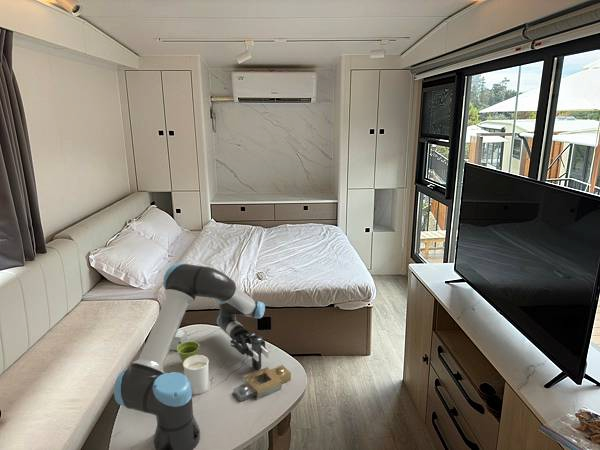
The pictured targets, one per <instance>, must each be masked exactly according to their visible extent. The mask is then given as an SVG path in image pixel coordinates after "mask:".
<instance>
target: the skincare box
mask: <svg viewBox="0 0 600 450" xmlns="http://www.w3.org/2000/svg"><path fill="white" fill-rule="evenodd" d="M184 342H189V340H188V331H187V330H183V329H182V330H181V329H178V330H177V333H176V335H175V338H174V340H173V343H172V345H171V347H170V350H171V351H177V347H178V346H179V345H180V344H182V343H184Z"/></svg>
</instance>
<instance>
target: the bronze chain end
mask: <svg viewBox="0 0 600 450" xmlns="http://www.w3.org/2000/svg"><path fill="white" fill-rule="evenodd" d="M263 377H266V378H267V379H268V380H269V381H267V382H266V381H265V382H263V383H261V384H260V383H258V382H257V381H256V380H258V379H260V378H263ZM291 377H292V373H291V371H290V370H289V369H288V368H286V366H284V365H283V364H281V365H278V366H277V367H276V366H275V367H274V368H271V369H270V368H269V367H267V366H266V367H264V368H260V369H258V370H255V371H254V372H251V373H250V374H246V375H244V376H243V378H244V380H243V382H244V381H245V382H246V383H247V384H248V385H249V386H250V387H251V388H252V389H253V391H254V392H255V393H256V394H257V395H259V394H261V393H263V392H266V391H268V390H270V389H273V388H275V387H277V386H279V385H282V384H285V383H288V382H290V381H291V379H292V378H291Z"/></svg>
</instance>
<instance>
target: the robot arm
mask: <svg viewBox="0 0 600 450" xmlns="http://www.w3.org/2000/svg"><path fill="white" fill-rule="evenodd" d="M163 288H164V295H165V300H164V301H163V304H162V305H161V306H162V307H161V308H160V311H159V313H158V315H157V318H156V319H155V322H154V324H153V327H152V328H151V331H150V333H149V335H148V337H147V339H146V342H145V344H144V347H143V348H142V350H141V353H140V355H139V357H138V359H137V360H135V361H133V362H131V364H130V367H129V368H126V369H123V370H122V371H121V372H119V374H118V376H117V377H116V379H115V383H114V387H113V395H114V400H115V402H116V403H117V404H118V405H119V406H121V407H125V408H126V409H129V410H130V409H131V410H135V411H138V412H143V413H146V414H150V415H154V416H155V417H156V423H157V426H156V428H155V431H154V432H155V433H154V435H153V446H154V450H194V449H195V448H196V447H197V446H198V444H199V443H200V440H201V430H200V429H201V428H200V426H199V424H198V422H197V420H196V419H195V417H194V407H193V394H192V390H191V385H190V382H189V379H188V378H187V377H186V376H185V374H183V373H181V372H175V371H170V373H168V372H165V371H164V368H163V367H164V364H165V362H166V360H167V357H168V355H169V352H170V350H171V349H170V347H171V345H172V343H173V340H174V338H175V335H176V333H177V330H179V328H180V326H181V323H182V320H183V318H184V316H185V313H186V311H187V309H188V306H189V305H192V304H194V302H195V299H196V297H203V298H208V299H214V300H215V299H216V300H217V301H218V308H219V315H218V316H217V318H216V324H217V325H218V326H219V328H220V330H222V331H223V332H224V333H225V334H226V335H228V336H229V338H231V339H230V346H231V347H233V348H235V350H237V352H239V353H240V354H241V355H242V356H245V355H246V356H247V357H248V356H249V357H251V358H252V357H253V358H254V359H255V360H256V361H259V355H258V354H257V353H256V352H255V351H254V350H253V349H252V347H250V348H249V346H248V344H249V345H252V344H251V342H250V337H251V336H253V335H259V334H258V331H256V332H254V333H252V332H249V331H248V329H247V328H246V327H245V326H243V324H242V323H240V322H239V321H238V320H237V317H236V316H237V315H238V316H243V317H249V318H254V319H262V318H263V317H264V314H265V311H266V306H265V305H266V304H265V303H264V302H262V301H259V300H257V301H256V300H254V299H253V298H252V297H250V296H249V295H248V294H247V293H245V292H244V291H243V290H242V289H241V288H239V287H238V286H237V285H236V283H235V281H234V280H233V279H232V278H231V277H229V276H228V275H227V274H225V273H224V272H221V271H220V270H218V269H216V268H213V267H211V266H203V265H196V264H189V263H187V262H186V263H179V262H178V263H175V264H172V265H171V266H170V267H169V268H168V269H167V270H166V271H165V274H164V276H163ZM262 354H263V356H264V357H265V358H267V359H268V358H269V351H268V350H267V348H266V341H265V340H264V339H263V338H262V342H261V355H262Z"/></svg>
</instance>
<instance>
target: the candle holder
mask: <svg viewBox="0 0 600 450" xmlns="http://www.w3.org/2000/svg"><path fill="white" fill-rule="evenodd" d="M182 366H183V373H184V375H185V376H186V377H187V378H188V379H189V382H190V385H191V390H192V395H195V396H196V395H200V394H201V395H202V394H203V393H205V392H206V391H208V389H209V358H208V357H207V356H205V355H202V354H198V355H194V356H191V357H189V358H187V359H186V360H185V361H184V362H183V365H182Z"/></svg>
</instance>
